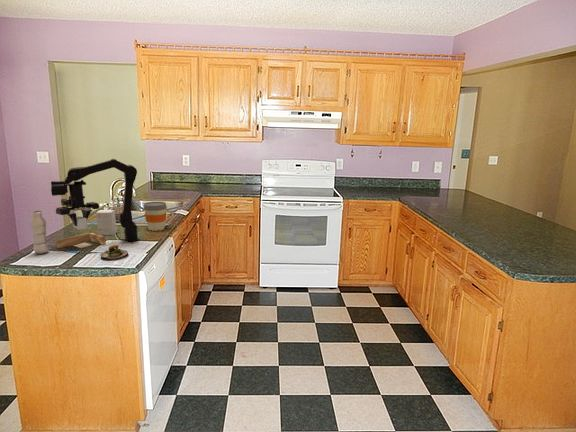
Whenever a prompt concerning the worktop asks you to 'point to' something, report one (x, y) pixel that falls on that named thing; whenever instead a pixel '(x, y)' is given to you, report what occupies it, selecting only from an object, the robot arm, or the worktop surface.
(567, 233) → the worktop surface
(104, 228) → the small box
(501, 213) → the worktop surface
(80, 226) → the block
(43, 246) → the plastic bottle
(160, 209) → the reusable coffee cup
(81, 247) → the pad
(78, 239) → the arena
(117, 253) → the burger
